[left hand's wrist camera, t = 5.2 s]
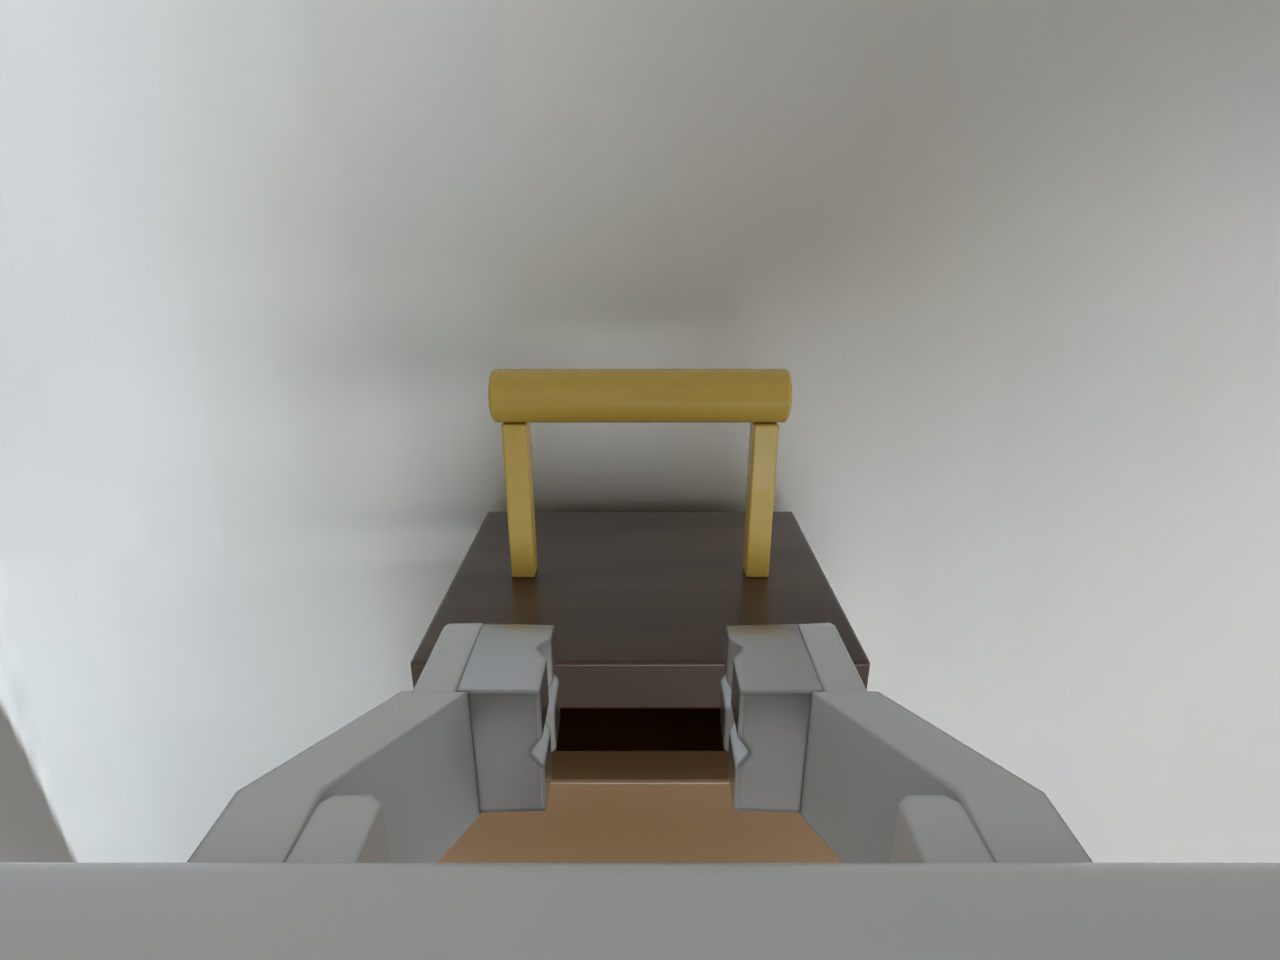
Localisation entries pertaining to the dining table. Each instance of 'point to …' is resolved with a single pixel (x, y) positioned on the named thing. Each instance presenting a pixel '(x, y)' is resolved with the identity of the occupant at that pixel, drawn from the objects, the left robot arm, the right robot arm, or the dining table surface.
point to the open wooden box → (640, 817)
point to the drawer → (640, 561)
